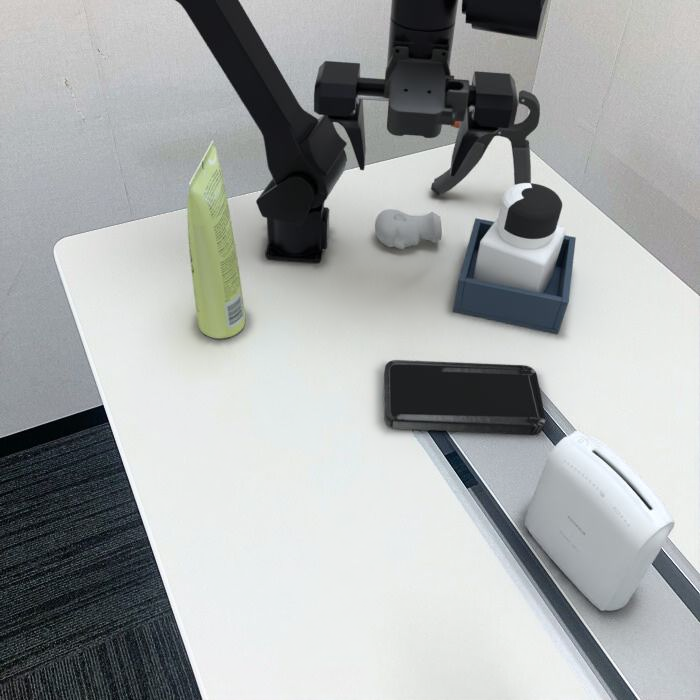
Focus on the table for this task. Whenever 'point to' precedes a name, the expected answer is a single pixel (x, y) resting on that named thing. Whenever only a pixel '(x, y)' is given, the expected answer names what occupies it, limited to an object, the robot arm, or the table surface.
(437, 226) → the pale two-lobed sculpture
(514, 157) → the hand grip strengthener
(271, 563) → the table surface
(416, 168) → the table surface
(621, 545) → the photo printer
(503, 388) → the phone
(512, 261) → the medicine bottle
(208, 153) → the tube
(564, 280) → the bin
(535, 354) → the table surface
